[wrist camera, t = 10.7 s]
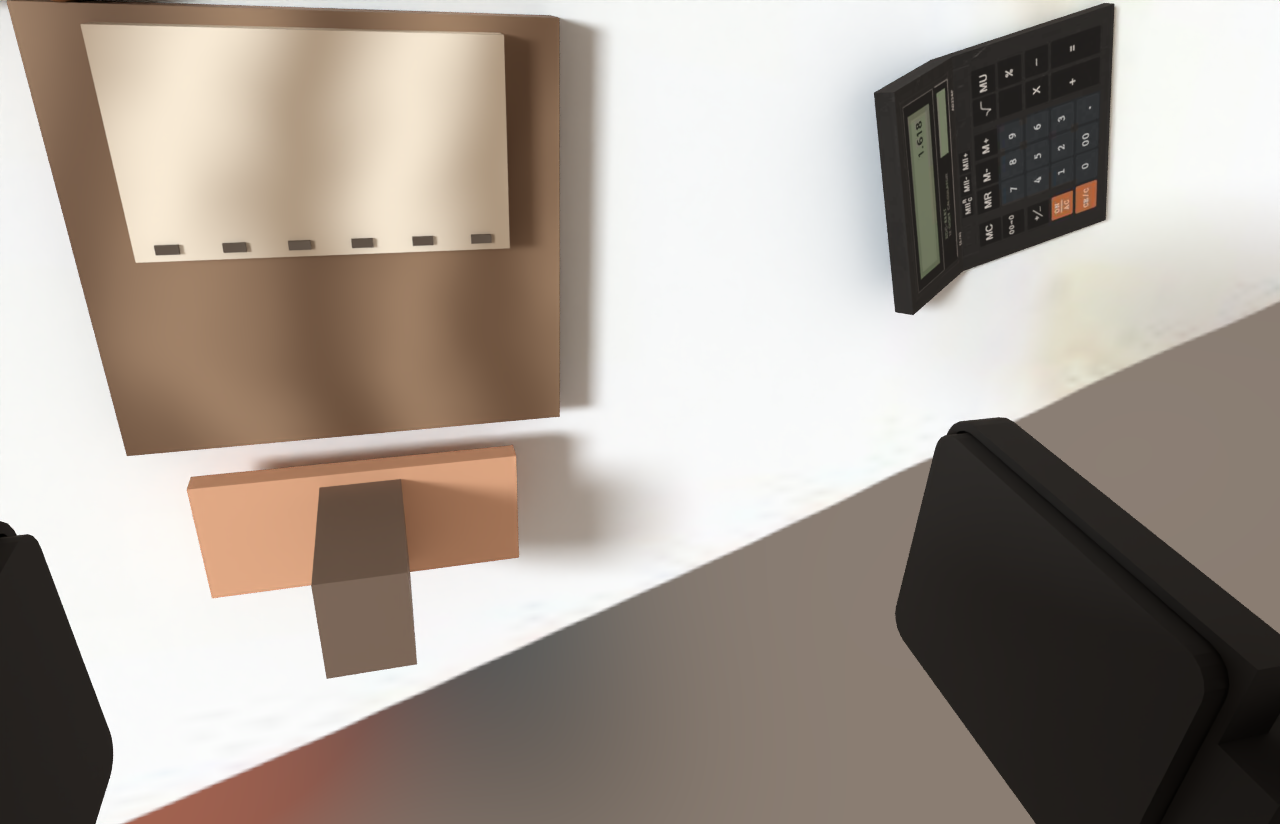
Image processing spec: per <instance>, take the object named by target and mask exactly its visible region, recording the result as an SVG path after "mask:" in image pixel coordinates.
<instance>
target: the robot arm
mask: <svg viewBox="0 0 1280 824" xmlns="http://www.w3.org/2000/svg"><path fill="white" fill-rule="evenodd" d="M895 615H896V623H897V628H898V630H899V633H900V635H901V637H902V639H903V641H904V642H905V643H906V645H907V646H908V648H909V649H910V650H911V652H912V653H913V655H914V656H915V657H916V658H917V660H918V661H919V663H920V664H921V666H922V667H923V668H924V670H925V671H926V672H927V674H928V675H929V677H930V678H931V679H932V681H933V682H934V684H935V685H936V686H937V688H938V689H939V690H940V692H941V693H942V695H943V696H944V697H945V699H946V700H947V701H948V703H949V704H950V706H951V707H952V708H953V710H954V711H955V713H956V714H957V715H958V716H959V718H960V719H961V721H962V722H963V723H964V725H965V726H966V728H967V729H968V730H969V732H970V733H971V735H972V736H973V737H974V739H975V740H976V742H977V743H978V744H979V746H980V747H981V748H982V750H983V751H984V752H985V754H986V755H987V757H988V758H989V759H990V761H991V762H992V764H993V765H994V766H995V768H996V769H997V770H998V772H999V773H1000V775H1001V776H1002V777H1003V779H1004V780H1005V781H1006V783H1007V784H1008V786H1009V787H1010V789H1011V790H1012V791H1013V793H1014V794H1015V795H1016V797H1017V798H1018V799H1019V801H1020V802H1021V804H1022V805H1023V806H1024V808H1025V809H1026V811H1027V812H1028V813H1029V815H1030V816H1031V817H1032V819H1033V820H1034V822H1035V823H1036V824H1280V634H1279V633H1278V632H1276V631H1275V630H1274V629H1273V628H1271V627H1270V626H1269V625H1268V624H1266V623H1265V622H1264V621H1263V620H1261V619H1260V618H1259V617H1258V616H1256V615H1255V614H1253V613H1252V612H1251V611H1250V610H1249V609H1247V608H1246V607H1245V606H1244V605H1242V604H1241V603H1240V602H1239V601H1237V600H1236V599H1235V598H1234V597H1232V596H1231V595H1230V594H1229V593H1227V592H1226V591H1225V590H1223V589H1222V588H1221V587H1220V586H1219V585H1217V584H1216V583H1215V582H1214V581H1212V580H1211V579H1210V578H1209V577H1207V576H1206V575H1205V574H1204V573H1202V572H1201V571H1200V570H1199V569H1197V568H1196V567H1195V566H1194V565H1192V564H1191V563H1190V562H1189V561H1187V560H1186V559H1185V558H1184V557H1182V556H1181V555H1180V554H1179V553H1177V552H1176V551H1175V550H1173V549H1172V548H1171V547H1170V546H1168V545H1167V544H1166V543H1165V542H1163V541H1162V540H1161V539H1160V538H1158V537H1157V536H1156V535H1155V534H1153V533H1152V532H1151V531H1150V530H1148V529H1147V528H1146V527H1145V526H1143V525H1142V524H1141V523H1140V522H1138V521H1137V520H1136V519H1135V518H1133V517H1132V516H1131V515H1130V514H1128V513H1127V512H1126V511H1125V510H1123V509H1122V508H1121V507H1120V506H1118V505H1117V504H1116V503H1115V502H1113V501H1112V500H1111V499H1110V498H1108V497H1107V496H1106V495H1105V494H1103V493H1102V492H1101V491H1100V490H1098V489H1097V488H1096V487H1095V486H1093V485H1092V484H1091V483H1089V482H1088V481H1087V480H1086V479H1084V478H1083V477H1082V476H1081V475H1079V474H1078V473H1077V472H1075V471H1074V470H1073V469H1072V468H1071V467H1069V466H1068V465H1067V464H1066V463H1064V462H1063V461H1062V460H1061V459H1059V458H1058V457H1057V456H1056V455H1054V454H1053V453H1052V452H1050V451H1049V450H1048V449H1047V448H1046V447H1044V446H1043V445H1042V444H1041V443H1039V442H1038V441H1037V440H1036V439H1034V438H1033V437H1032V436H1031V435H1029V434H1028V433H1027V432H1025V431H1024V430H1023V429H1022V428H1020V427H1019V426H1018V425H1017V424H1016V423H1014V422H1013V421H1011V420H1009V419H1007V418H1000V417H998V418H988V419H979V420H969V421H960V422H958V423H956V424H954V425H953V426H952V427H951V428H950V429H949V431H948V433H947V435H945V436H943V437H941V438H940V440H939V441H938V443H937V445H936V448H935V452H934V456H933V460H932V464H931V468H930V472H929V476H928V480H927V484H926V489H925V492H924V496H923V500H922V504H921V508H920V512H919V516H918V520H917V524H916V528H915V532H914V537H913V541H912V545H911V549H910V553H909V557H908V561H907V565H906V569H905V573H904V577H903V581H902V585H901V589H900V593H899V598H898V601H897V605H896V612H895ZM112 764H113V744H112V738H111V734H110V731H109V728H108V726H107V723H106V720H105V718H104V715H103V712H102V710H101V707H100V704H99V702H98V699H97V696H96V694H95V691H94V688H93V686H92V683H91V680H90V678H89V675H88V672H87V670H86V667H85V664H84V662H83V659H82V656H81V654H80V651H79V648H78V646H77V643H76V640H75V638H74V635H73V632H72V630H71V627H70V624H69V622H68V619H67V616H66V614H65V611H64V608H63V605H62V603H61V600H60V597H59V595H58V592H57V589H56V587H55V584H54V581H53V579H52V576H51V573H50V571H49V568H48V565H47V563H46V560H45V557H44V555H43V552H42V549H41V547H40V545H39V543H38V541H37V540H36V539H35V538H34V537H33V536H31V535H28V534H26V535H16V533H15V531H14V530H13V529H12V528H11V527H10V526H9V525H8V524H7V523H4V522H1V521H0V824H95V823H96V820H97V817H98V814H99V811H100V807H101V804H102V801H103V798H104V795H105V791H106V788H107V785H108V782H109V779H110V775H111V770H112Z"/></svg>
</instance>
